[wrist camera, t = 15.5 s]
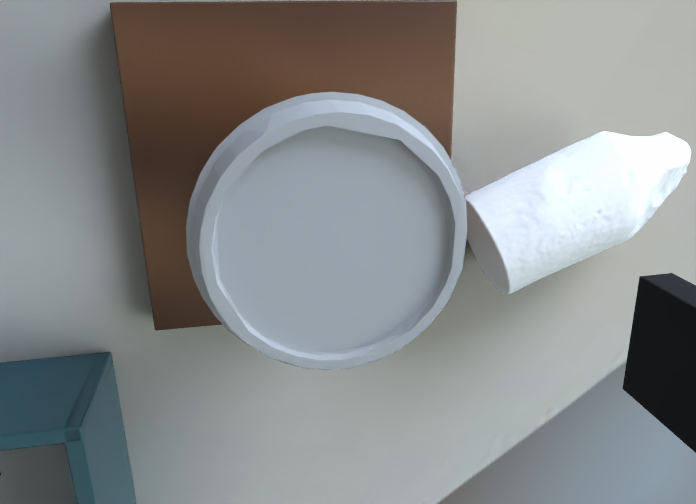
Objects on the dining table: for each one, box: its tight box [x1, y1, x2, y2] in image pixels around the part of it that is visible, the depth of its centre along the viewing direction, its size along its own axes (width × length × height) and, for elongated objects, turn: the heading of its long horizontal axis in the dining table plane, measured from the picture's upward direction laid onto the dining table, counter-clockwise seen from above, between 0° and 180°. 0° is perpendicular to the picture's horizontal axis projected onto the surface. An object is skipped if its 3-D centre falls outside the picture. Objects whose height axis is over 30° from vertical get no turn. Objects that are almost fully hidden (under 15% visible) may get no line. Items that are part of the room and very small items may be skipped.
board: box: [110, 0, 457, 330], centre depth 31 cm, size 16×16×2 cm
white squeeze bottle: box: [464, 131, 691, 295], centre depth 32 cm, size 6×12×6 cm, turn 114°
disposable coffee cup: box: [186, 92, 467, 370], centre depth 24 cm, size 10×10×12 cm
